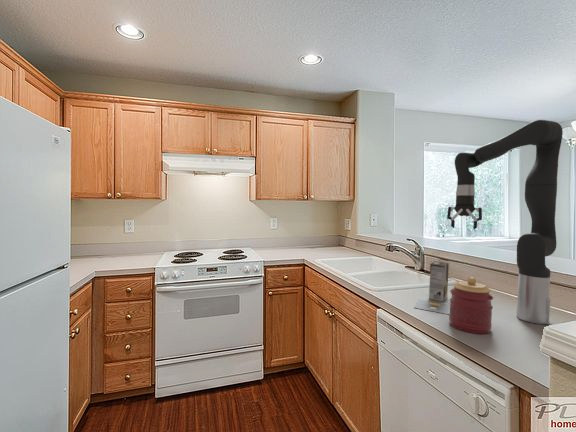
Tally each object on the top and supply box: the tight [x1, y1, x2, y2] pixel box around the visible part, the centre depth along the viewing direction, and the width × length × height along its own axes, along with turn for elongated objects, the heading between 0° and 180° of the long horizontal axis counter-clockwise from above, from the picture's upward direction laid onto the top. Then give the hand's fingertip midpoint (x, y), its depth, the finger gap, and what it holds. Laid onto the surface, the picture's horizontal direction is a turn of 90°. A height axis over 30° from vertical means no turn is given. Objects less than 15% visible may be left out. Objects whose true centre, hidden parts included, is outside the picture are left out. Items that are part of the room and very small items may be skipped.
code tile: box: [413, 298, 450, 315], centre depth 125 cm, size 14×14×1 cm
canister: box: [448, 277, 494, 335], centre depth 105 cm, size 13×13×18 cm
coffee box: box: [428, 260, 450, 302], centre depth 138 cm, size 9×6×16 cm
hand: (463, 228), depth 141 cm, fingers open, 8 cm apart
